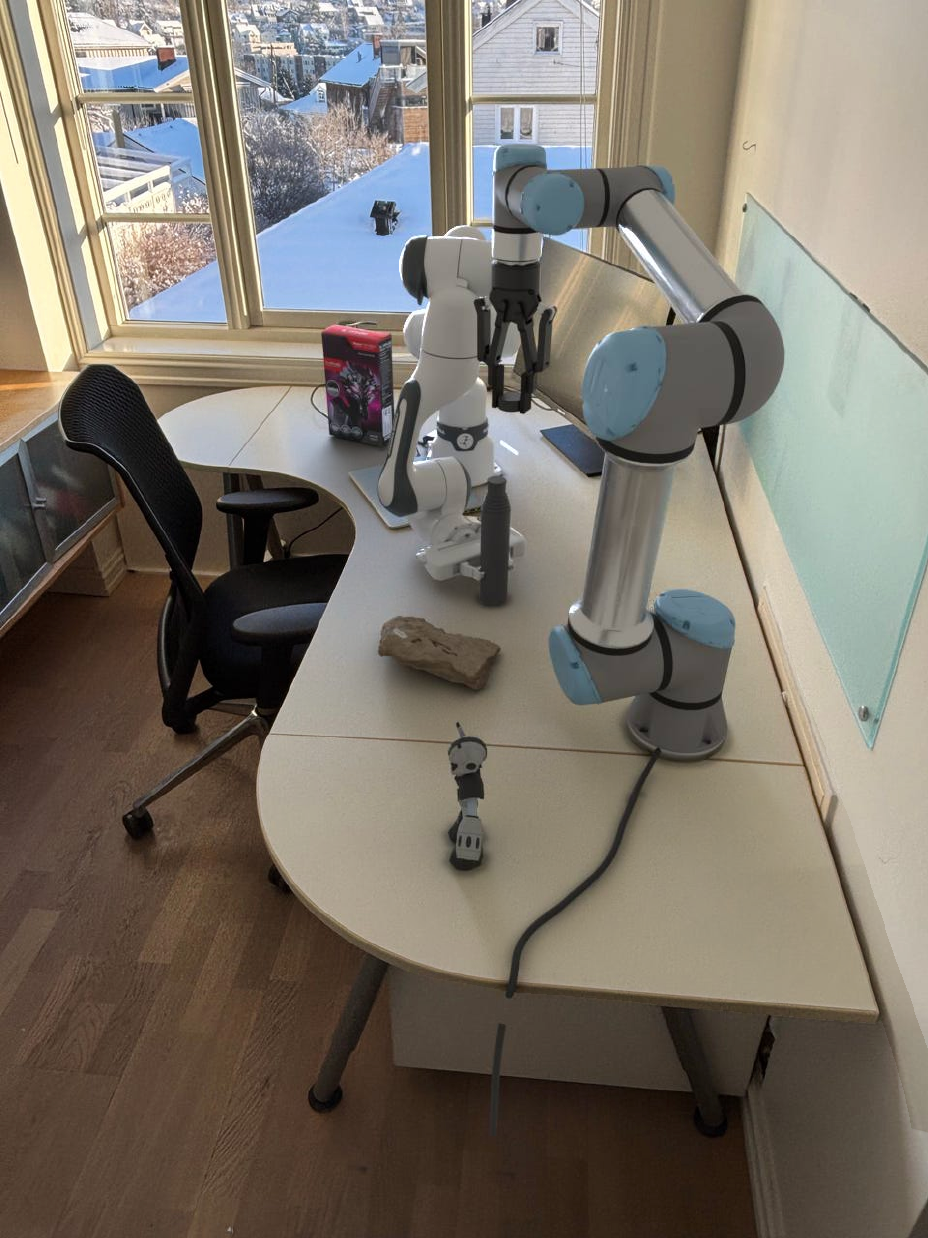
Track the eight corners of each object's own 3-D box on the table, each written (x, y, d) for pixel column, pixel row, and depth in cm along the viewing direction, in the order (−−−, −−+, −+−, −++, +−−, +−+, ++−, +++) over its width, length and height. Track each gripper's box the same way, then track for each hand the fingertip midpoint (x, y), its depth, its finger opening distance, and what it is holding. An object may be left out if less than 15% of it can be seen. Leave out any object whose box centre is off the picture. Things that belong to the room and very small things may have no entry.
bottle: (509, 593, 176) (514, 474, 162) (504, 608, 172) (508, 487, 158) (482, 590, 177) (485, 471, 163) (476, 604, 173) (479, 484, 159)
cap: (492, 405, 153) (492, 394, 152) (515, 401, 155) (515, 389, 153) (506, 414, 149) (507, 402, 148) (530, 409, 151) (530, 398, 150)
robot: (489, 905, 115) (493, 789, 104) (450, 907, 115) (450, 790, 104) (479, 793, 131) (482, 682, 120) (445, 794, 131) (445, 683, 120)
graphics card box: (326, 436, 238) (318, 330, 223) (342, 427, 243) (334, 322, 228) (383, 449, 231) (378, 340, 216) (397, 439, 237) (393, 333, 221)
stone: (354, 663, 151) (360, 631, 149) (385, 632, 165) (392, 602, 162) (474, 706, 148) (483, 673, 145) (496, 671, 161) (504, 640, 159)
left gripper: (411, 539, 173) (448, 571, 164) (502, 513, 182) (542, 543, 173) (411, 567, 177) (448, 601, 167) (501, 541, 186) (540, 571, 176)
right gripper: (579, 261, 138) (569, 410, 151) (477, 248, 146) (475, 392, 158) (559, 271, 133) (550, 425, 146) (453, 257, 140) (454, 405, 153)
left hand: (497, 571), depth 170 cm, fingers closed on bottle, 5 cm apart
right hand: (511, 407), depth 152 cm, fingers closed on cap, 4 cm apart
